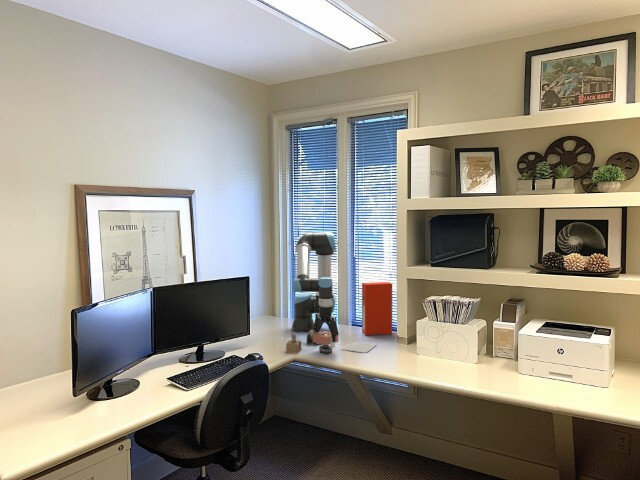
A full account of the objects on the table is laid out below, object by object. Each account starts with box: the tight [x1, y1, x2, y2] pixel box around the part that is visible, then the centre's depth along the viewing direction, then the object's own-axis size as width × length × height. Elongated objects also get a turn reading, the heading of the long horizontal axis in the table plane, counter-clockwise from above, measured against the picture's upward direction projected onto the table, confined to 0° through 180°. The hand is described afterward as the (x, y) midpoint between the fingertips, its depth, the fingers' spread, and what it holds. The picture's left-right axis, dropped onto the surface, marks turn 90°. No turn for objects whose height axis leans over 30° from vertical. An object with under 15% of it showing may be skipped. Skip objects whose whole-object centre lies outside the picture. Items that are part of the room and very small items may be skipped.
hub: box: [318, 334, 333, 355], centre depth 263 cm, size 7×7×10 cm
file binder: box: [361, 281, 393, 336], centre depth 301 cm, size 8×17×32 cm, turn 101°
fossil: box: [306, 329, 318, 345], centre depth 281 cm, size 11×9×10 cm
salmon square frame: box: [313, 330, 339, 346], centre depth 262 cm, size 10×10×4 cm
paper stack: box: [342, 341, 377, 354], centre depth 266 cm, size 23×25×1 cm
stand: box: [285, 332, 302, 354], centre depth 266 cm, size 7×7×10 cm
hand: (325, 345), depth 263 cm, fingers closed on salmon square frame, 10 cm apart
